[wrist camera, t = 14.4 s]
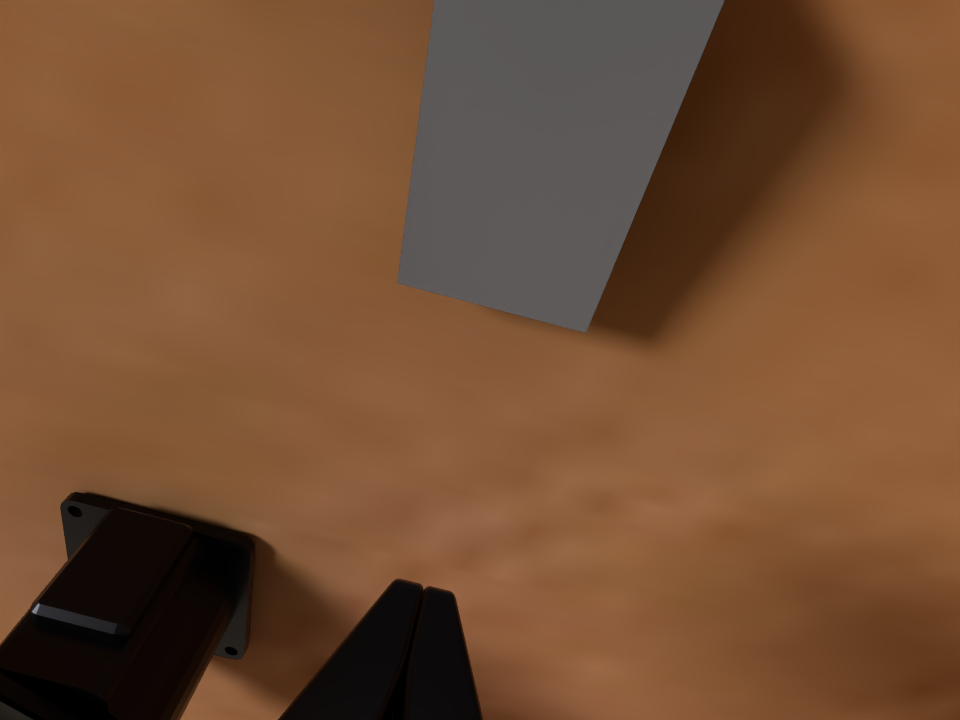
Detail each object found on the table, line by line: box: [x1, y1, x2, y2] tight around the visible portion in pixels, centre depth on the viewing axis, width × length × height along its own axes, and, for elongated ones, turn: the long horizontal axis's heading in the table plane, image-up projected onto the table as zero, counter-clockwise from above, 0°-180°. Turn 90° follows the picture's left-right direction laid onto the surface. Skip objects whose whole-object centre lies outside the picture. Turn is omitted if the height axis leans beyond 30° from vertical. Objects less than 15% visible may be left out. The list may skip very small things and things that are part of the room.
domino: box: [397, 0, 724, 333], centre depth 14 cm, size 2×4×8 cm
